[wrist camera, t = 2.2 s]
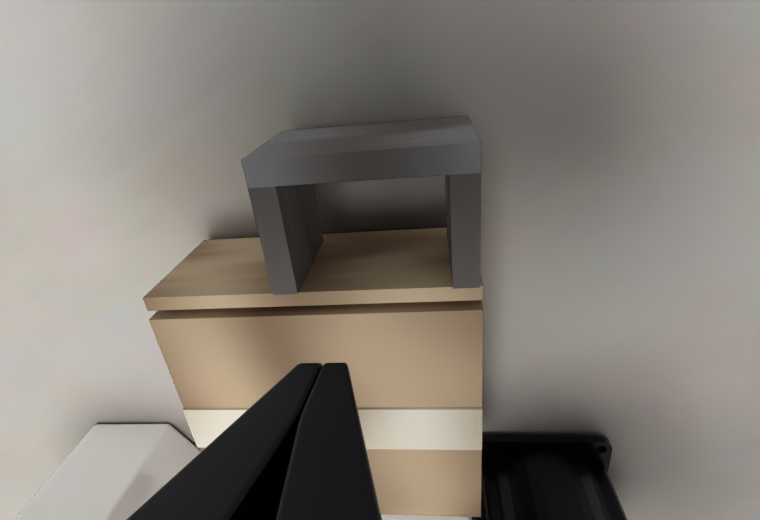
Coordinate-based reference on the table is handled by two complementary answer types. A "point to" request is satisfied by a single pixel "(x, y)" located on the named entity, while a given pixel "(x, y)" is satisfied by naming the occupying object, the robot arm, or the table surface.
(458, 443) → the carton
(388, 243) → the flap
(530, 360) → the table surface
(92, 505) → the jar
